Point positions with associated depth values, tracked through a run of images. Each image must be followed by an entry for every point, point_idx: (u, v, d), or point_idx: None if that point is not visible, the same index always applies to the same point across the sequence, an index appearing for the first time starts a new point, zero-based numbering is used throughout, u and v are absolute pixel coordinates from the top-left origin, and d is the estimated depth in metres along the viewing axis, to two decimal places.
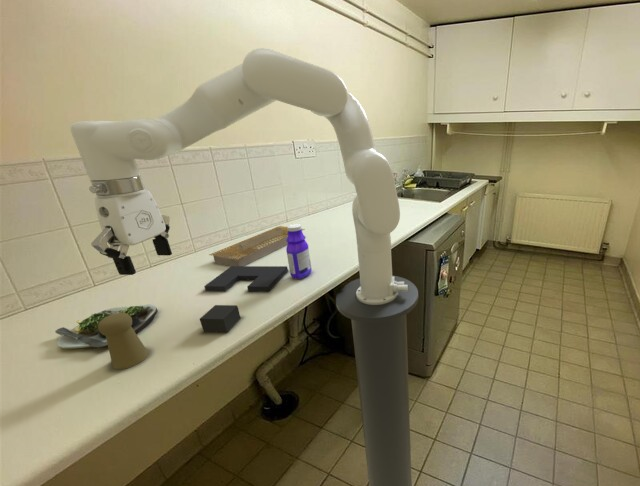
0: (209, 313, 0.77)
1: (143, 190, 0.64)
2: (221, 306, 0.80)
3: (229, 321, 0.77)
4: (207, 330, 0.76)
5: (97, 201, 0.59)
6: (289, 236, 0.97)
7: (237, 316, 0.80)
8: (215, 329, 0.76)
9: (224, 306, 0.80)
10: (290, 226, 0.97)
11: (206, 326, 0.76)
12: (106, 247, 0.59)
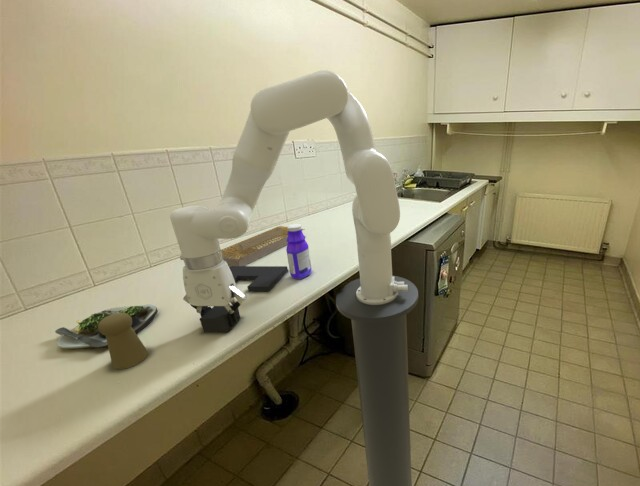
0: (209, 313, 0.77)
1: (200, 270, 0.69)
2: (221, 306, 0.80)
3: None
4: (207, 330, 0.76)
5: None
6: (289, 236, 0.97)
7: None
8: (215, 329, 0.76)
9: None
10: (290, 226, 0.97)
11: (206, 326, 0.76)
12: None
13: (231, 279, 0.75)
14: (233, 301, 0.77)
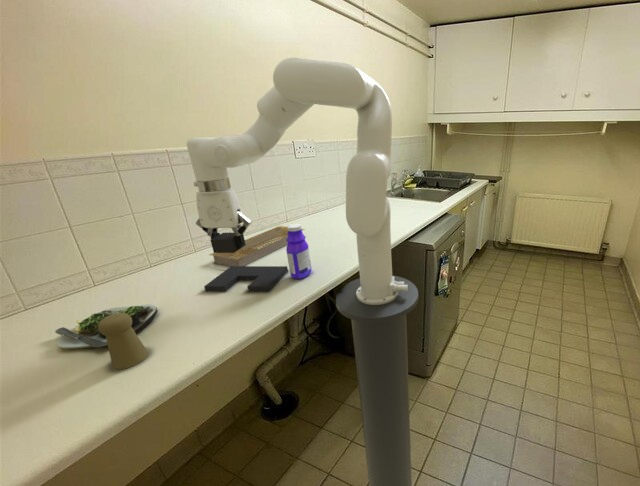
0: (218, 237, 0.88)
1: (212, 192, 0.81)
2: (228, 233, 0.91)
3: None
4: (217, 251, 0.87)
5: None
6: (289, 236, 0.97)
7: None
8: (224, 249, 0.87)
9: (231, 233, 0.91)
10: (290, 226, 0.97)
11: (216, 247, 0.87)
12: (202, 225, 0.87)
13: (238, 205, 0.86)
14: (239, 226, 0.89)
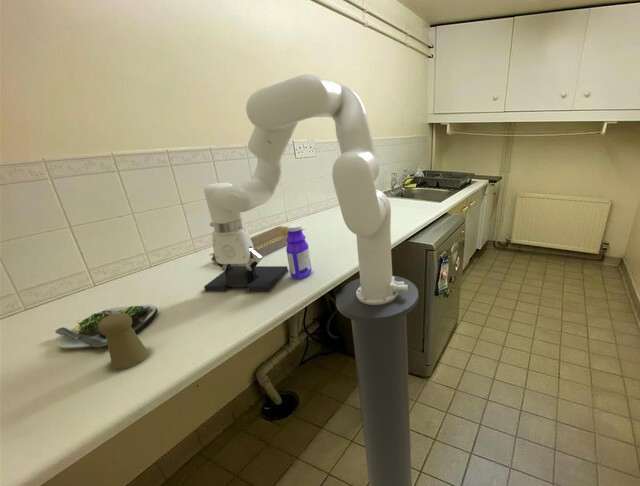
0: (232, 271, 0.95)
1: (226, 233, 0.88)
2: (241, 266, 0.98)
3: None
4: (230, 284, 0.95)
5: None
6: (289, 236, 0.97)
7: None
8: (237, 283, 0.94)
9: (244, 266, 0.98)
10: (290, 226, 0.97)
11: (230, 281, 0.94)
12: (217, 261, 0.95)
13: (250, 242, 0.93)
14: (251, 261, 0.96)
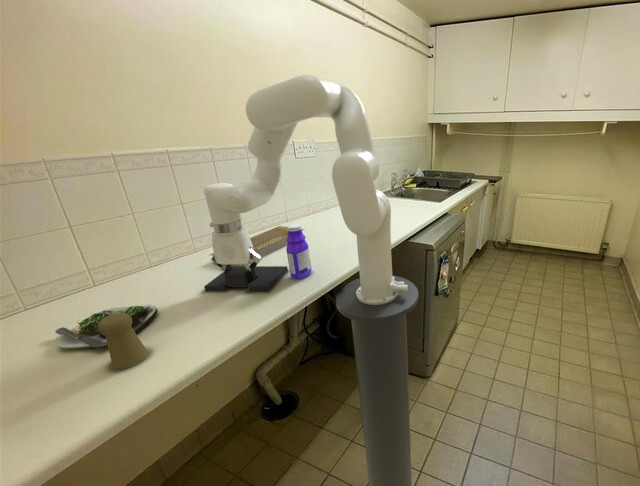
0: (231, 272, 0.95)
1: (226, 233, 0.88)
2: (240, 267, 0.98)
3: None
4: (230, 285, 0.95)
5: None
6: (289, 236, 0.97)
7: None
8: (236, 284, 0.94)
9: (243, 267, 0.98)
10: (290, 226, 0.97)
11: (229, 281, 0.94)
12: (216, 261, 0.95)
13: (250, 243, 0.93)
14: (251, 262, 0.96)
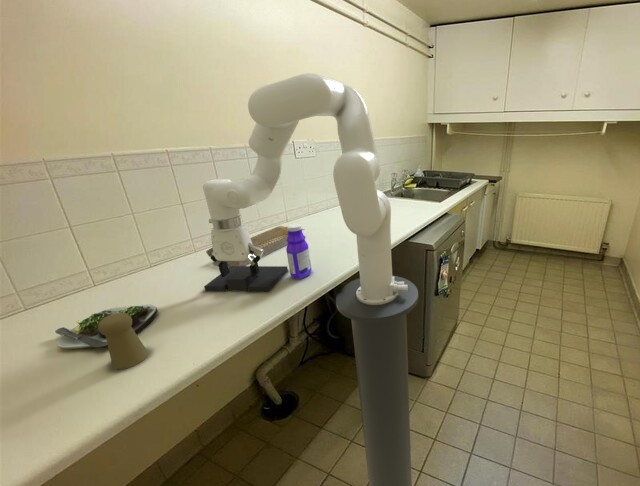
0: (233, 276, 0.96)
1: (225, 229, 0.87)
2: (242, 271, 0.99)
3: (249, 281, 0.96)
4: (231, 289, 0.95)
5: None
6: (289, 236, 0.97)
7: (254, 279, 0.99)
8: (238, 288, 0.95)
9: (245, 271, 0.99)
10: (290, 226, 0.97)
11: (231, 285, 0.95)
12: (211, 255, 0.94)
13: (249, 239, 0.93)
14: (253, 256, 0.95)
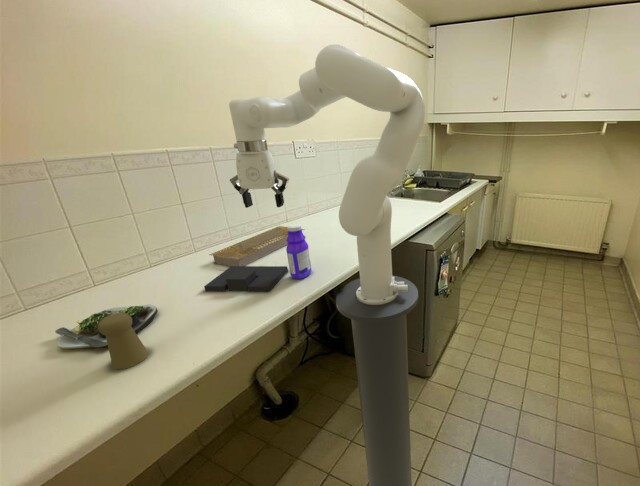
0: (233, 276, 0.96)
1: (252, 152, 0.85)
2: (242, 271, 0.99)
3: (249, 281, 0.96)
4: (231, 289, 0.95)
5: None
6: (289, 236, 0.97)
7: (254, 279, 0.99)
8: (238, 288, 0.95)
9: (245, 271, 0.99)
10: (290, 226, 0.97)
11: (231, 285, 0.95)
12: (234, 184, 0.91)
13: (274, 167, 0.90)
14: (278, 186, 0.92)
